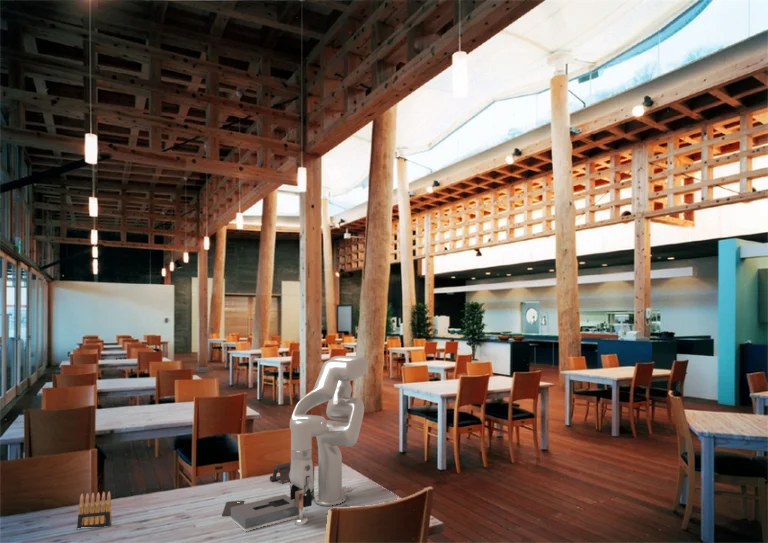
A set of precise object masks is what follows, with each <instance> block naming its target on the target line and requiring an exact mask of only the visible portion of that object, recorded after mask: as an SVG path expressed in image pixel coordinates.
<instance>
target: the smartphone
mask: <svg viewBox="0 0 768 543" xmlns="http://www.w3.org/2000/svg"><path fill="white" fill-rule="evenodd" d="M237 502H240V503H237ZM244 502H245V503H246V501H245V500H232V501H230V500H229V501H226V502H225V506H224V508H223V510H222V514H221V517H231V507H234V506H238V505H243V504H244Z"/></svg>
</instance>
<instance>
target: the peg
mask: <svg viewBox="0 0 768 543" xmlns="http://www.w3.org/2000/svg"><path fill="white" fill-rule="evenodd" d="M303 495H304V492H303V490H300V491H296V492H295V506H296V507H298V508H299V517H297V518H295V519H294V524H296V525H295V526H299V525H301V526H305V525H307V524H308V517H306V516H304V507H303Z"/></svg>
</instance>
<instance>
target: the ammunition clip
mask: <svg viewBox="0 0 768 543" xmlns="http://www.w3.org/2000/svg"><path fill="white" fill-rule="evenodd" d="M100 494H101V493H100V492H99V491H98V492H97V494H96V498H95V493H94V492H92V493H91V497H90V495H89V493H88V492H87V493H86V496H85V498H84V494H83V493H81V495H80V497H79V504H78V515H77V525H76V529H77V528H81V527H98V528H105V527H104V526H108V527H110V526H112V501H111V500H112V499H111V497H112V496H111V491H107V495H106V492H105V491H102V495H100ZM84 499H85V500H84Z"/></svg>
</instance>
